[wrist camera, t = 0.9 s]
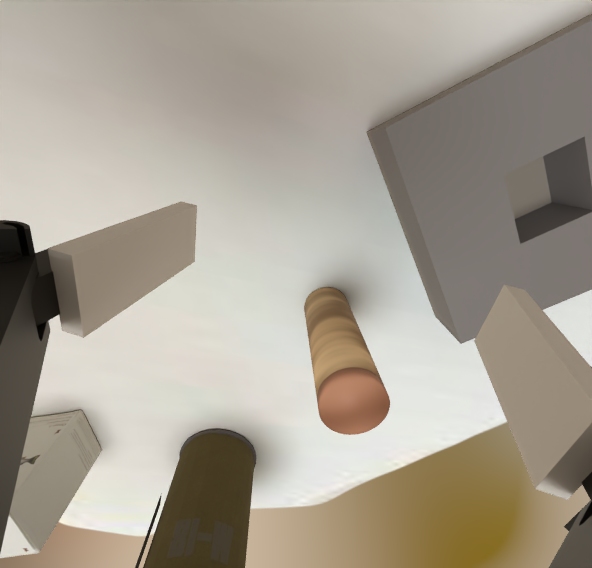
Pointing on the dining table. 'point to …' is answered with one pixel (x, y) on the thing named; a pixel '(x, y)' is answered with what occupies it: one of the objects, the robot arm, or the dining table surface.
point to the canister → (205, 505)
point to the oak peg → (342, 366)
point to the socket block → (499, 181)
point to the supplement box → (48, 479)
